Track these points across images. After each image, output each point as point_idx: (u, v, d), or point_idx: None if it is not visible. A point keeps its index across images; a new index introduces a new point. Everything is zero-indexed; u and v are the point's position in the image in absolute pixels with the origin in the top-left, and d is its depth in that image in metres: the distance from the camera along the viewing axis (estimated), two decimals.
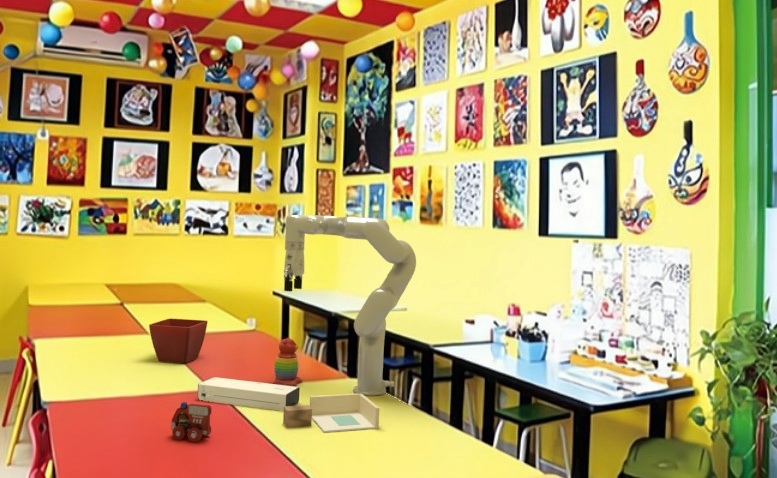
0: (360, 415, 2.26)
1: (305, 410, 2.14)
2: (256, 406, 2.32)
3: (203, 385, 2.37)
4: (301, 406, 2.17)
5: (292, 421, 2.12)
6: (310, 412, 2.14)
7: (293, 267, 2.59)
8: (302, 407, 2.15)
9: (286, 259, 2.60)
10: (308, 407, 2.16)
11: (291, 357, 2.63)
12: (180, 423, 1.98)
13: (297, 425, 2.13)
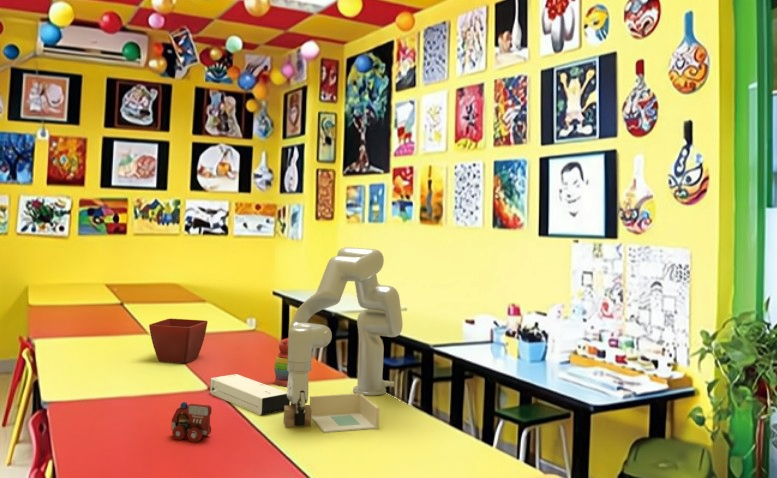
0: (360, 415, 2.26)
1: None
2: (243, 406, 2.31)
3: (213, 380, 2.46)
4: None
5: (291, 420, 2.12)
6: (309, 412, 2.14)
7: None
8: None
9: None
10: (308, 407, 2.16)
11: None
12: (180, 423, 1.98)
13: None
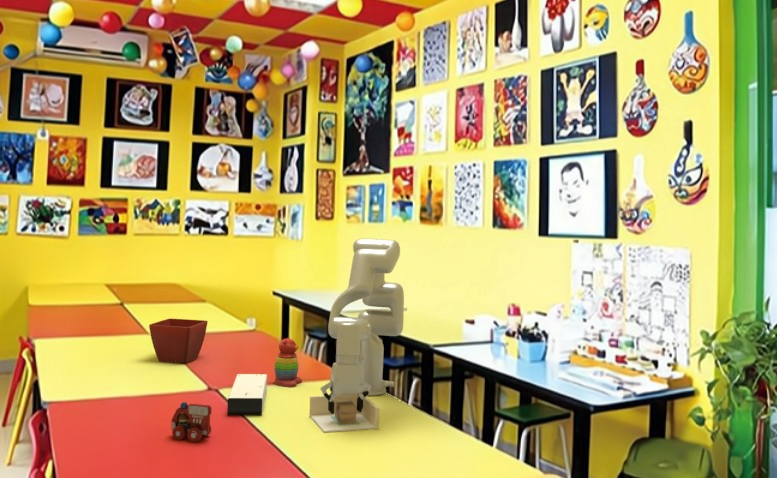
0: (360, 415, 2.26)
1: (339, 406, 2.17)
2: None
3: None
4: (351, 404, 2.18)
5: (336, 412, 2.21)
6: (340, 410, 2.15)
7: None
8: (346, 404, 2.18)
9: (362, 374, 2.19)
10: (347, 406, 2.16)
11: (291, 357, 2.63)
12: (180, 423, 1.98)
13: (337, 418, 2.19)
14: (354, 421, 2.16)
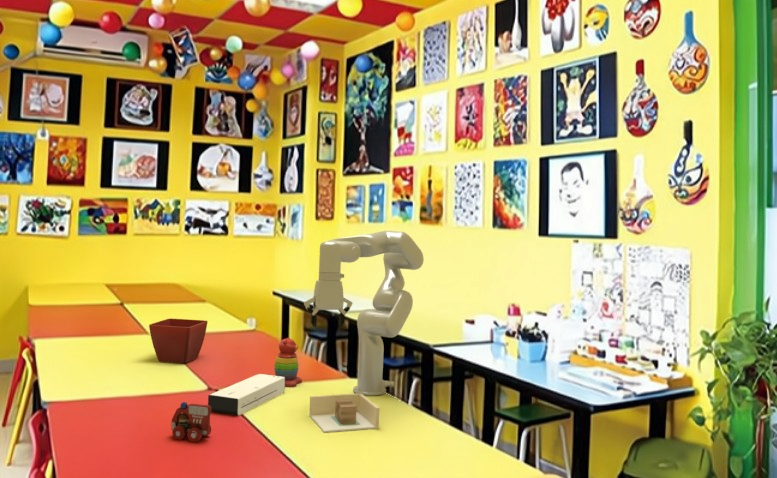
0: (360, 415, 2.26)
1: (339, 406, 2.17)
2: None
3: None
4: (351, 404, 2.18)
5: (336, 412, 2.21)
6: (340, 410, 2.15)
7: None
8: (346, 404, 2.18)
9: None
10: (347, 406, 2.16)
11: (291, 357, 2.63)
12: (180, 423, 1.98)
13: (337, 418, 2.19)
14: (354, 421, 2.16)
